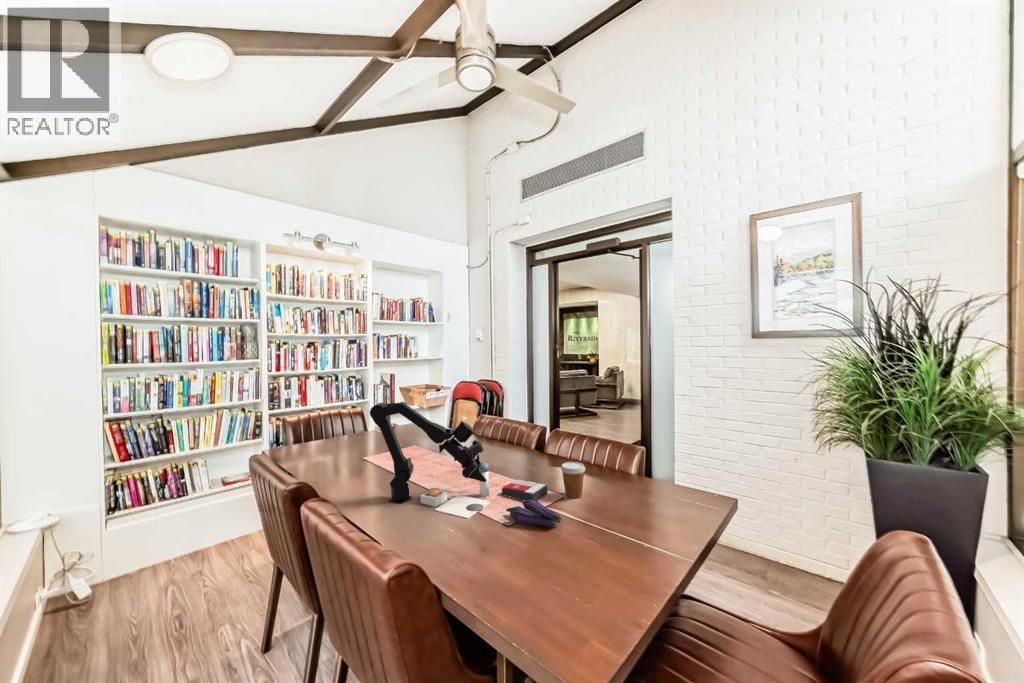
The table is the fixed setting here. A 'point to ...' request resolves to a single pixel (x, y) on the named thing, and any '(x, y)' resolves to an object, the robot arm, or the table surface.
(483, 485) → the white gray cylinder
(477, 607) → the table surface
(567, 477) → the disposable coffee cup
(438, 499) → the button housing
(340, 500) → the table surface
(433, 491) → the button
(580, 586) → the table surface
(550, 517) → the purple stapler
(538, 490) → the red gray flat box
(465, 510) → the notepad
